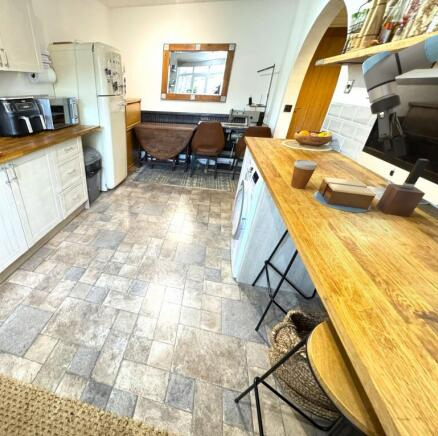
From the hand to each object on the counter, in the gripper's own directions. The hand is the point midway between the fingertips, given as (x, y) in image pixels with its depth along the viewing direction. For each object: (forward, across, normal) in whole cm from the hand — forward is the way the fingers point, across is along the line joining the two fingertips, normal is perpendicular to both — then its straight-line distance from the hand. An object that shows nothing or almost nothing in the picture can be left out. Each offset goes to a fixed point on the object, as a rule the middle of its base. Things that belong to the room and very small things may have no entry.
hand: (396, 157), depth 86 cm
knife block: (+21, -8, -6) cm, 23 cm away
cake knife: (+21, -8, -6) cm, 23 cm away
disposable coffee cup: (+3, -2, -35) cm, 35 cm away
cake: (+13, 0, -19) cm, 23 cm away
